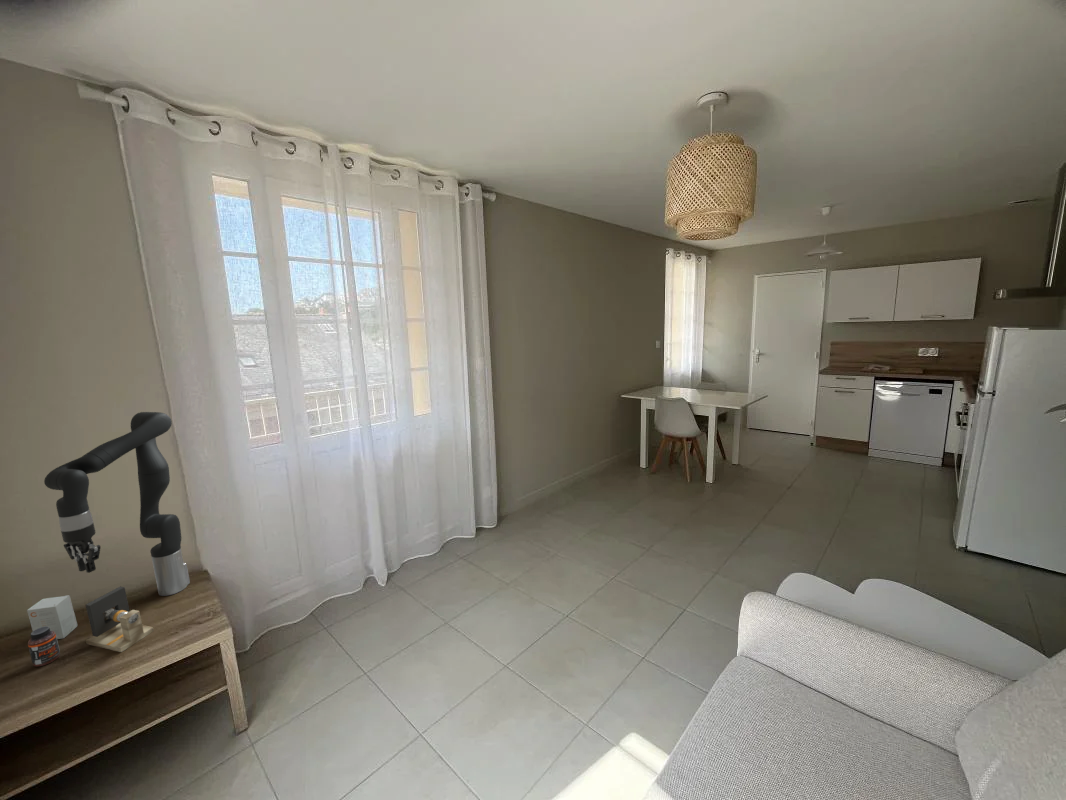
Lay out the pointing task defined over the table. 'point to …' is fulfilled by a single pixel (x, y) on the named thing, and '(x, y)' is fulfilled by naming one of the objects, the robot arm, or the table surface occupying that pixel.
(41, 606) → the small box
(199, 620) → the table surface
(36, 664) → the supplement bottle
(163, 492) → the robot arm
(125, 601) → the dark grey flat block
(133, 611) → the pipe stand
